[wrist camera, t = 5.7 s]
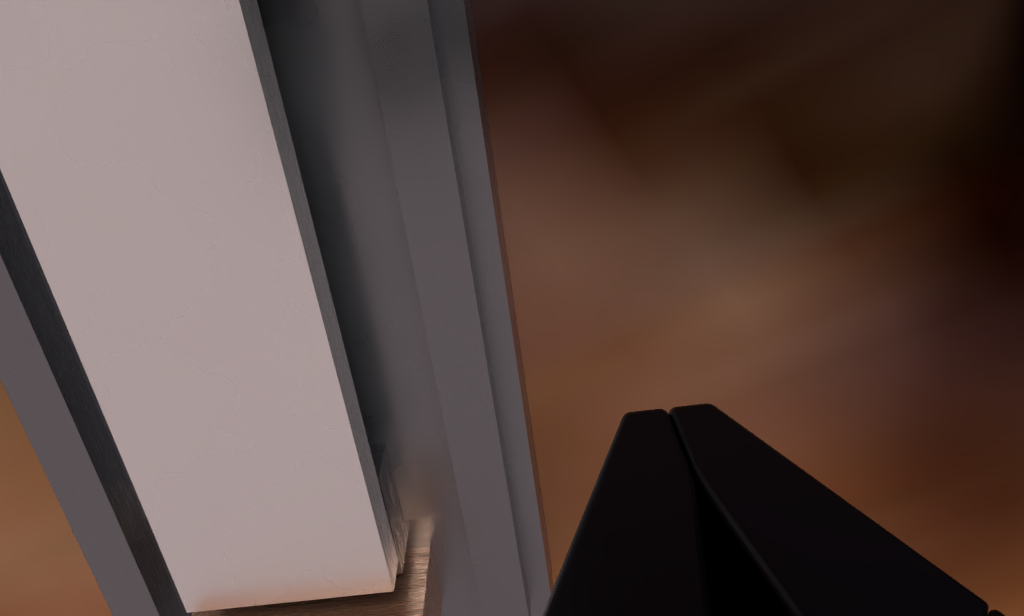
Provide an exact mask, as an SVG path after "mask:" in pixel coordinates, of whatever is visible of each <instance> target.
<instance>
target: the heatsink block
mask: <svg viewBox="0 0 1024 616" xmlns="http://www.w3.org/2000/svg"><path fill="white" fill-rule="evenodd" d="M257 3H258V7H259V11H260V15H261V19H262V23H263V27H264V31H265V35H266V39H267V43H268V47H269V51H270V55H271V59H272V63H273V67H274V71H275V75H276V78H277V82H278V86H279V90H280V94H281V98H282V102H283V106H284V110H285V114H286V118H287V122H288V126H289V130H290V134H291V138H292V142H293V146H294V150H295V154H296V158H297V162H298V166H299V169H300V173H301V177H302V181H303V185H304V189H305V193H306V197H307V201H308V205H309V209H310V213H311V217H312V221H313V225H314V229H315V233H316V237H317V241H318V245H319V249H320V253H321V257H322V260H323V264H324V268H325V272H326V276H327V280H328V284H329V288H330V292H331V296H332V300H333V304H334V308H335V312H336V316H337V320H338V324H339V328H340V332H341V336H342V340H343V344H344V348H345V351H346V355H347V359H348V363H349V367H350V371H351V375H352V379H353V383H354V387H355V391H356V395H357V399H358V403H359V407H360V411H361V415H362V419H363V423H364V427H365V431H366V435H367V439H368V442H369V446H370V450H371V454H372V458H373V462H374V466H375V470H376V474H377V478H378V482H379V486H380V490H381V494H382V498H383V502H384V506H385V510H386V514H387V518H388V522H389V526H390V530H391V533H392V537H393V541H394V545H395V549H396V553H397V557H398V567H397V573H396V580H395V586H394V591H393V592H384V593H374V594H364V595H354V596H345V597H335V598H325V599H316V600H306V601H296V602H286V603H277V604H267V605H257V606H248V607H238V608H228V609H219V610H209V611H199V612H189V613H187V612H186V609H185V607H184V605H183V602H182V600H181V598H180V595H179V593H178V590H177V588H176V586H175V583H174V581H173V579H172V576H171V574H170V571H169V569H168V567H167V564H166V562H165V560H164V557H163V555H162V552H161V550H160V548H159V545H158V543H157V540H156V538H155V536H154V533H153V531H152V529H151V526H150V524H149V521H148V519H147V517H146V514H145V512H144V510H143V507H142V505H141V502H140V500H139V498H138V495H137V493H136V491H135V488H134V486H133V483H132V481H131V479H130V476H129V474H128V472H127V469H126V467H125V464H124V462H123V460H122V457H121V455H120V453H119V450H118V448H117V445H116V443H115V441H114V438H113V436H112V433H111V431H110V429H109V426H108V424H107V422H106V419H105V417H104V414H103V412H102V410H101V407H100V405H99V403H98V400H97V398H96V395H95V393H94V391H93V388H92V386H91V384H90V381H89V379H88V376H87V374H86V372H85V369H84V367H83V365H82V362H81V360H80V357H79V355H78V353H77V350H76V348H75V346H74V343H73V341H72V338H71V336H70V334H69V331H68V329H67V326H66V324H65V322H64V319H63V317H62V315H61V312H60V310H59V307H58V305H57V303H56V300H55V298H54V296H53V293H52V291H51V288H50V286H49V284H48V281H47V279H46V277H45V274H44V272H43V269H42V267H41V265H40V262H39V260H38V258H37V255H36V253H35V250H34V248H33V246H32V243H31V241H30V239H29V236H28V234H27V231H26V229H25V227H24V224H23V222H22V219H21V217H20V215H19V212H18V210H17V208H16V205H15V203H14V200H13V198H12V196H11V193H10V191H9V189H8V186H7V184H6V181H5V179H4V177H3V174H2V172H1V170H0V379H1V381H2V383H3V385H4V388H5V390H6V392H7V394H8V396H9V398H10V400H11V402H12V404H13V407H14V409H15V411H16V413H17V415H18V417H19V419H20V421H21V423H22V425H23V428H24V430H25V432H26V434H27V436H28V438H29V440H30V442H31V444H32V446H33V449H34V451H35V453H36V455H37V457H38V459H39V461H40V463H41V465H42V467H43V470H44V472H45V474H46V476H47V478H48V480H49V482H50V484H51V486H52V488H53V491H54V493H55V495H56V497H57V499H58V501H59V503H60V505H61V507H62V510H63V512H64V514H65V516H66V518H67V520H68V522H69V524H70V526H71V528H72V531H73V533H74V535H75V537H76V539H77V541H78V543H79V545H80V547H81V549H82V552H83V554H84V556H85V558H86V560H87V562H88V564H89V566H90V568H91V570H92V573H93V575H94V577H95V579H96V581H97V583H98V585H99V587H100V589H101V592H102V594H103V596H104V598H105V600H106V602H107V604H108V606H109V608H110V610H111V613H112V615H113V616H542V615H543V612H544V610H545V607H546V605H547V603H548V600H549V598H550V595H551V593H552V590H553V582H552V568H551V559H550V552H549V545H548V538H547V531H546V524H545V517H544V511H543V504H542V497H541V490H540V483H539V476H538V469H537V462H536V455H535V448H534V441H533V434H532V427H531V420H530V413H529V406H528V399H527V392H526V385H525V378H524V371H523V364H522V357H521V350H520V343H519V336H518V329H517V322H516V315H515V308H514V301H513V294H512V287H511V280H510V273H509V266H508V259H507V252H506V245H505V238H504V231H503V224H502V217H501V210H500V203H499V196H498V189H497V182H496V175H495V168H494V161H493V154H492V147H491V140H490V133H489V126H488V119H487V112H486V105H485V98H484V91H483V84H482V77H481V70H480V63H479V56H478V49H477V42H476V35H475V28H474V21H473V14H472V7H471V0H257Z"/></svg>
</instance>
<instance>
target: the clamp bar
mask: <svg viewBox="0 0 1024 616" xmlns="http://www.w3.org/2000/svg"><path fill="white" fill-rule="evenodd" d="M0 170H1V172H2V174H3V177H4V179H5V181H6V184H7V186H8V189H9V191H10V193H11V196H12V198H13V200H14V203H15V205H16V208H17V210H18V212H19V215H20V217H21V219H22V222H23V224H24V227H25V229H26V231H27V234H28V236H29V239H30V241H31V243H32V246H33V248H34V250H35V253H36V255H37V258H38V260H39V262H40V265H41V267H42V269H43V272H44V274H45V277H46V279H47V281H48V284H49V286H50V288H51V291H52V293H53V296H54V298H55V300H56V303H57V305H58V307H59V310H60V312H61V315H62V317H63V319H64V322H65V324H66V326H67V329H68V331H69V334H70V336H71V338H72V341H73V343H74V346H75V348H76V350H77V353H78V355H79V357H80V360H81V362H82V365H83V367H84V369H85V372H86V374H87V376H88V379H89V381H90V384H91V386H92V388H93V391H94V393H95V395H96V398H97V400H98V403H99V405H100V407H101V410H102V412H103V414H104V417H105V419H106V422H107V424H108V426H109V429H110V431H111V433H112V436H113V438H114V441H115V443H116V445H117V448H118V450H119V453H120V455H121V457H122V460H123V462H124V464H125V467H126V469H127V472H128V474H129V476H130V479H131V481H132V483H133V486H134V488H135V491H136V493H137V495H138V498H139V500H140V502H141V505H142V507H143V510H144V512H145V514H146V517H147V519H148V521H149V524H150V526H151V529H152V531H153V533H154V536H155V538H156V540H157V543H158V545H159V548H160V550H161V552H162V555H163V557H164V560H165V562H166V564H167V567H168V569H169V571H170V574H171V576H172V579H173V581H174V583H175V586H176V588H177V590H178V593H179V595H180V598H181V600H182V602H183V605H184V607H185V609H186V612H187V613H189V612H199V611H209V610H219V609H228V608H238V607H248V606H257V605H267V604H277V603H286V602H296V601H306V600H316V599H325V598H335V597H345V596H354V595H364V594H374V593H384V592H393V591H394V586H395V580H396V573H397V567H398V557H397V553H396V549H395V545H394V541H393V537H392V533H391V530H390V526H389V522H388V518H387V514H386V510H385V506H384V502H383V498H382V494H381V490H380V486H379V482H378V478H377V474H376V470H375V466H374V462H373V458H372V454H371V450H370V446H369V442H368V439H367V435H366V431H365V427H364V423H363V419H362V415H361V411H360V407H359V403H358V399H357V395H356V391H355V387H354V383H353V379H352V375H351V371H350V367H349V363H348V359H347V355H346V351H345V348H344V344H343V340H342V336H341V332H340V328H339V324H338V320H337V316H336V312H335V308H334V304H333V300H332V296H331V292H330V288H329V284H328V280H327V276H326V272H325V268H324V264H323V260H322V257H321V253H320V249H319V245H318V241H317V237H316V233H315V229H314V225H313V221H312V217H311V213H310V209H309V205H308V201H307V197H306V193H305V189H304V185H303V181H302V177H301V173H300V169H299V166H298V162H297V158H296V154H295V150H294V146H293V142H292V138H291V134H290V130H289V126H288V122H287V118H286V114H285V110H284V106H283V102H282V98H281V94H280V90H279V86H278V82H277V78H276V75H275V71H274V67H273V63H272V59H271V55H270V51H269V47H268V43H267V39H266V35H265V31H264V27H263V23H262V19H261V15H260V11H259V7H258V3H257V0H0Z"/></svg>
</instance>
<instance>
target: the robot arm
mask: <svg viewBox="0 0 1024 616" xmlns="http://www.w3.org/2000/svg"><path fill="white" fill-rule="evenodd" d="M988 612H989V606H988V604H987V603H986V602H985V601H984V600H982V599H981V598H979V597H978V596H977V595H975V594H974V593H973V592H971V591H970V590H968V589H967V588H966V587H964V586H963V585H961V584H960V583H959V582H957V581H956V580H955V579H953V578H952V577H950V576H949V575H948V574H946V573H945V572H944V571H942V570H941V569H939V568H938V567H937V566H935V565H934V564H932V563H931V562H930V561H928V560H927V559H926V558H924V557H923V556H921V555H920V554H919V553H917V552H916V551H914V550H913V549H912V548H910V547H909V546H908V545H906V544H905V543H903V542H902V541H901V540H899V539H898V538H896V537H895V536H894V535H892V534H891V533H890V532H888V531H887V530H885V529H884V528H883V527H881V526H880V525H879V524H877V523H876V522H874V521H873V520H872V519H870V518H869V517H867V516H866V515H865V514H863V513H862V512H861V511H859V510H858V509H856V508H855V507H854V506H852V505H851V504H849V503H848V502H847V501H845V500H844V499H843V498H841V497H840V496H838V495H837V494H836V493H834V492H833V491H831V490H830V489H829V488H827V487H826V486H825V485H823V484H822V483H820V482H819V481H818V480H816V479H815V478H814V477H812V476H811V475H809V474H808V473H807V472H805V471H804V470H802V469H801V468H800V467H798V466H797V465H796V464H794V463H793V462H791V461H790V460H789V459H787V458H786V457H784V456H783V455H782V454H780V453H779V452H778V451H776V450H775V449H773V448H772V447H771V446H769V445H768V444H766V443H765V442H764V441H762V440H761V439H760V438H758V437H757V436H755V435H754V434H753V433H751V432H750V431H749V430H747V429H746V428H744V427H743V426H742V425H740V424H739V423H737V422H736V421H735V420H733V419H732V418H731V417H729V416H728V415H726V414H725V413H724V412H722V411H721V410H719V409H718V408H717V407H715V406H713V405H711V404H698V405H689V406H681V407H674V408H672V409H671V410H670V411H669V414H668V413H667V412H666V411H665V410H663V409H654V410H645V411H636V412H629V413H626V414H625V415H624V416H623V418H622V420H621V422H620V425H619V427H618V430H617V432H616V435H615V437H614V440H613V442H612V445H611V447H610V450H609V452H608V454H607V457H606V459H605V462H604V464H603V467H602V469H601V472H600V474H599V477H598V479H597V482H596V484H595V487H594V489H593V491H592V494H591V496H590V499H589V501H588V504H587V506H586V509H585V511H584V514H583V516H582V519H581V521H580V524H579V526H578V528H577V531H576V533H575V536H574V538H573V541H572V543H571V546H570V548H569V551H568V553H567V556H566V558H565V561H564V563H563V566H562V568H561V570H560V573H559V575H558V578H557V580H556V583H555V585H554V588H553V590H552V593H551V595H550V598H549V600H548V603H547V605H546V607H545V610H544V612H543V615H542V616H1005V615H1004V614H1002V613H1001V612H999V611H997V610H991V611H990V612H989V613H988Z"/></svg>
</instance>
